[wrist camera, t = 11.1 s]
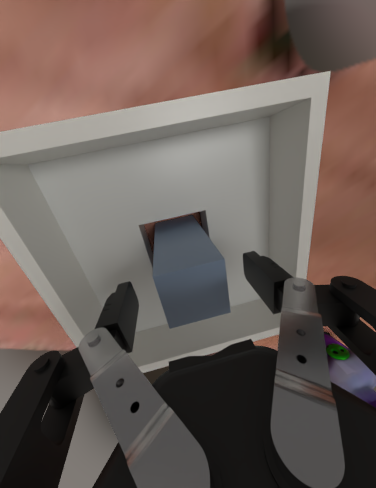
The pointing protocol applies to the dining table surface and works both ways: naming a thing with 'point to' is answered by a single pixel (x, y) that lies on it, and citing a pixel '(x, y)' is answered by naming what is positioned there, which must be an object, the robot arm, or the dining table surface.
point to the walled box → (165, 204)
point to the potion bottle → (349, 371)
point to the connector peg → (188, 272)
